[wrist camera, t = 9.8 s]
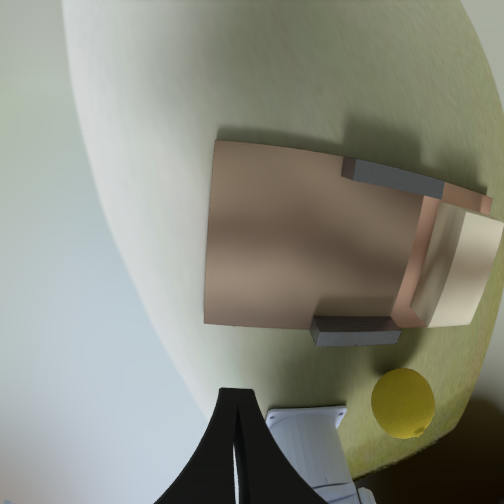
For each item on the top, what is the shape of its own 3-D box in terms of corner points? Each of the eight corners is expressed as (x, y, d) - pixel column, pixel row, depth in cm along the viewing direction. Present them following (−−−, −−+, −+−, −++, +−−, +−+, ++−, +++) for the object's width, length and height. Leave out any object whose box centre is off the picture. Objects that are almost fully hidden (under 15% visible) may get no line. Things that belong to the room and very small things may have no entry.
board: (447, 320, 22) (452, 324, 21) (204, 317, 20) (203, 323, 20) (486, 196, 18) (492, 198, 17) (216, 140, 16) (215, 140, 15)
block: (450, 306, 21) (469, 324, 18) (409, 306, 20) (428, 327, 17) (479, 212, 18) (504, 222, 15) (439, 201, 17) (465, 211, 14)
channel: (385, 328, 21) (396, 343, 19) (309, 329, 20) (315, 346, 18) (427, 176, 16) (444, 181, 15) (343, 156, 16) (356, 158, 14)
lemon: (394, 342, 22) (436, 406, 15) (419, 363, 24) (455, 419, 16) (349, 382, 24) (377, 450, 16) (379, 398, 25) (406, 456, 18)
